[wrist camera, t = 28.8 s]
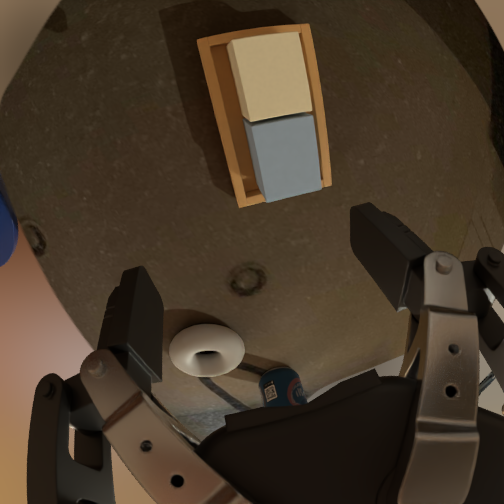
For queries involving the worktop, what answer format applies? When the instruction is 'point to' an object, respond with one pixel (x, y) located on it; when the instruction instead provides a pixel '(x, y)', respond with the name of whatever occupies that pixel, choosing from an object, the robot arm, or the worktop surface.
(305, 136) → the pad
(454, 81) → the worktop surface
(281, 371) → the soda can
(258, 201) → the frame
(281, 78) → the pad
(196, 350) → the donut
